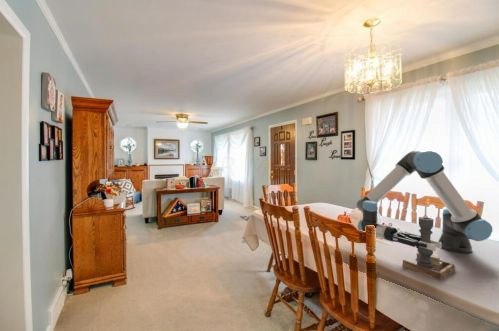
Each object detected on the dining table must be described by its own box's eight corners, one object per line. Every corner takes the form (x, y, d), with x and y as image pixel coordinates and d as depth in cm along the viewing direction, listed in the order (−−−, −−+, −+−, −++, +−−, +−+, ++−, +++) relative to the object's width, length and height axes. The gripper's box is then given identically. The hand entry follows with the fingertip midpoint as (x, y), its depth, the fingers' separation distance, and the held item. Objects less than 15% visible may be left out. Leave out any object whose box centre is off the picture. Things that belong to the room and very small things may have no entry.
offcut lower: (423, 262, 123) (423, 256, 123) (442, 268, 117) (442, 262, 117) (419, 264, 121) (419, 259, 120) (438, 271, 114) (438, 265, 114)
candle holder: (425, 266, 118) (427, 216, 117) (436, 272, 112) (437, 220, 110) (413, 266, 118) (414, 216, 116) (423, 273, 111) (424, 220, 110)
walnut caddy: (417, 258, 127) (417, 252, 127) (454, 270, 114) (454, 264, 114) (402, 266, 118) (402, 260, 118) (440, 280, 105) (440, 273, 105)
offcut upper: (420, 257, 122) (421, 252, 122) (438, 260, 118) (438, 255, 118) (421, 261, 118) (421, 255, 118) (439, 264, 114) (439, 258, 114)
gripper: (395, 236, 134) (446, 250, 115) (377, 243, 124) (429, 259, 105) (395, 223, 134) (446, 234, 114) (377, 229, 124) (430, 242, 104)
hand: (438, 246), depth 110 cm, fingers closed on candle holder, 5 cm apart
